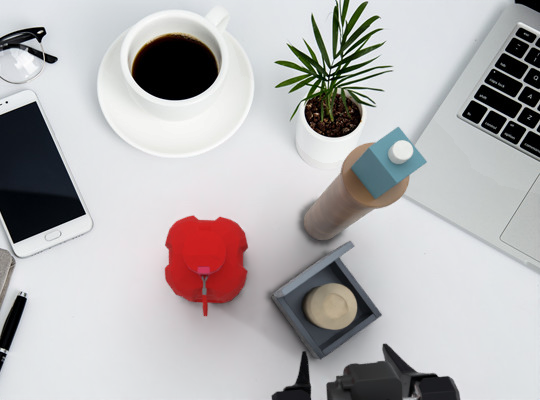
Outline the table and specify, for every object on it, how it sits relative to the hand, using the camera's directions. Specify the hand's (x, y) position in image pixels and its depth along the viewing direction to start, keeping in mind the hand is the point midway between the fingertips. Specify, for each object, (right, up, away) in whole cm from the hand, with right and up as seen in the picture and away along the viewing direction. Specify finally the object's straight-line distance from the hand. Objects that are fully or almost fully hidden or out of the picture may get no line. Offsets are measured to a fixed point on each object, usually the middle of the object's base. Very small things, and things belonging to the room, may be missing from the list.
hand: (343, 349), depth 71 cm
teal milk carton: (-1, +20, -15) cm, 25 cm away
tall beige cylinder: (+1, +14, +14) cm, 20 cm away
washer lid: (-3, +9, +2) cm, 9 cm away
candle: (0, +3, +11) cm, 12 cm away
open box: (0, +3, +12) cm, 13 cm away
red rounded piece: (-15, +7, +14) cm, 22 cm away
